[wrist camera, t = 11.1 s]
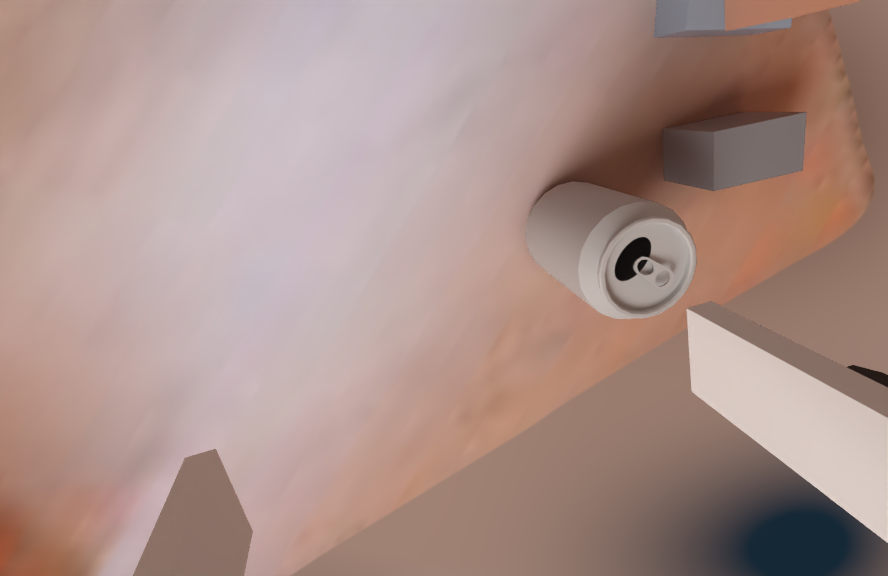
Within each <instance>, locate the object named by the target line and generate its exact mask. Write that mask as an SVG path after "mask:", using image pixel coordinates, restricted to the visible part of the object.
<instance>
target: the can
mask: <svg viewBox="0 0 888 576" xmlns="http://www.w3.org/2000/svg"><path fill="white" fill-rule="evenodd" d="M525 235H526V241H527V247H528V250H529V252H530V254H531V256H532V258H533V260H534V261H535V262H536V263H537V264H538V265H539V266H540V267H541V268H542V269H544V270H545V271H546V272H547V273H549V274H550V275H551V276H553V277H554V278H555V279H556V280H558V281H559V282H560V283H562V284H563V285H564V286H566V287H567V288H568V289H569V290H571V291H572V292H573V293H575V294H576V295H577V296H579V297H580V298H581V299H582V300H584V301H585V302H586V303H588V304H589V305H590V306H592V307H593V308H594V309H595V310H597V311H598V312H599V313H601V314H604V315H607V316H609V317H612V318H615V319H634V318H648V317H651V316H654V315H658V314H660V313H662V312H664V311H665V310H667V309H668V308H670V307H672V306H673V305H674V304H675V303H676V302H677V301H678V300H679V299H680V298H681V297H682V296H683V295H684V294H685V292H686V290H687V288H688V287H689V285H690V283H691V281H692V279H693V276H694V272H695V268H696V264H697V260H696V247H695V244H694V242H693V239H692V236H691V234H690V233H689V232H688V231H687V229H686V226H685V224H684V222H683V221H682V220H681V219H680V217H679V216H678V215H677V214H676V213H675V212H674V211H673V210H672V209H670V208H667V207H665V206H663V205H661V204H659V203H657V202H653V201H650V200H646V199H643V198H639V197H636V196H632V195H629V194H625V193H622V192H618V191H615V190H611V189H608V188H605V187H601V186H598V185H594V184H591V183H587V182H575V181H572V182H568V183H564V184H560V185H557V186H556V187H554V188H552V189H551V190H549V191H548V192H546V193H545V194H544V195H543V196H542V197H541V198H540V199H539V201H538V202H537V203H536V204H535V205H534V207H533V209H532V211H531V213H530V216H529V218H528V220H527V227H526V234H525Z"/></svg>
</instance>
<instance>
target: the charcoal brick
mask: <svg viewBox="0 0 888 576" xmlns="http://www.w3.org/2000/svg"><path fill="white" fill-rule="evenodd" d="M805 128H806V112H741V113H736V114H732V115H727V116H722V117H718V118H713V119H708V120H703V121H699V122H694V123H689V124H684V125H680V126H675V127H670V128H666V129H663V162H664V181H669V182H674V183H678V184H683V185H688V186H693V187H697V188H702V189H707V190H711V191H716V190H720V189H725V188H729V187H733V186H738V185H742V184H746V183H751V182H755V181H759V180H764V179H768V178H773V177H777V176H781V175H786V174H790V173H794V172H799V171H803V160H804V144H805Z"/></svg>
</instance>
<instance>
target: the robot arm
mask: <svg viewBox="0 0 888 576" xmlns="http://www.w3.org/2000/svg"><path fill="white" fill-rule="evenodd" d="M687 321H688V338H689V355H690V371H691V388H692V392H693V393H694V394H696V395H697V396H698V397H699V398H701V399H702V400H704V401H705V402H706V403H707V404H708V405H710V406H711V407H712V408H714V409H715V410H716V411H718V412H719V413H720V414H722V415H723V416H724V417H725V418H727V419H728V420H729V421H730V422H732V423H733V424H734V425H736V426H737V427H738V428H740V429H741V430H742V431H743V432H745V433H746V434H747V435H749V436H750V437H751V438H753V439H754V440H755V441H756V442H758V443H759V444H760V445H762V446H763V447H764V448H765V449H767V450H768V451H769V452H771V453H772V454H773V455H775V456H776V457H777V458H778V459H780V460H781V461H782V462H784V463H785V464H786V465H788V466H789V467H790V468H791V469H793V470H794V471H795V472H797V473H798V474H799V475H800V476H802V477H803V478H804V479H806V480H807V481H808V482H810V483H811V484H812V485H813V486H815V487H816V488H817V489H819V490H820V491H821V492H823V493H824V494H825V495H826V496H828V497H829V498H830V499H832V500H833V501H834V502H835V503H837V504H838V505H839V506H841V507H842V508H843V509H845V510H846V511H847V512H848V513H850V514H851V515H852V516H854V517H855V518H856V519H858V520H859V521H860V522H862V523H863V524H864V525H865V526H867V527H868V528H869V529H870V530H872V531H873V532H875V533H876V534H877V535H878V536H880V537H881V538H882V539H884V540H885V541H886V542H887V543H888V375H886V374H884V373H882V372H878V371H873V370H870V369H866V368H862V367H858V366H854V365H852V366H848V367H845V366H843V365H841V364H839V363H837V362H835V361H833V360H831V359H829V358H826V357H824V356H822V355H820V354H818V353H816V352H814V351H812V350H810V349H808V348H806V347H804V346H802V345H800V344H798V343H796V342H793V341H792V340H790V339H788V338H785V337H783V336H782V335H780V334H777V333H775V332H773V331H771V330H769V329H767V328H765V327H763V326H761V325H759V324H757V323H755V322H753V321H751V320H749V319H747V318H745V317H742V316H741V315H739V314H737V313H735V312H733V311H731V310H728V309H727V308H724V307H722V306H720V305H718V304H716V303H714V302H712V301H710V302H706V303H703V304H700V305H696V306H693V307H690V308H687ZM252 533H253V531H252V528H251V526H250V524H249V522H248V520H247V517H246V515H245V513H244V511H243V508H242V506H241V504H240V502H239V500H238V497H237V495H236V493H235V491H234V488H233V486H232V484H231V482H230V480H229V477H228V475H227V473H226V471H225V468H224V466H223V464H222V462H221V459H220V457H219V455H218V453H217V451H216V449H213V450H210V451H207V452H203V453H200V454H197V455H193V456H190V457H187V458H185V459H184V461H183V464H182V466H181V468H180V470H179V473H178V475H177V477H176V479H175V482H174V484H173V486H172V488H171V491H170V493H169V495H168V498H167V500H166V502H165V504H164V507H163V509H162V511H161V513H160V516H159V518H158V520H157V522H156V525H155V527H154V529H153V531H152V534H151V536H150V538H149V541H148V543H147V545H146V547H145V550H144V552H143V554H142V556H141V559H140V561H139V563H138V565H137V568H136V570H135V572H134V575H133V576H244V573H245V568H246V563H247V558H248V553H249V548H250V543H251V538H252Z"/></svg>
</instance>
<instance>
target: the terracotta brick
mask: <svg viewBox="0 0 888 576" xmlns="http://www.w3.org/2000/svg"><path fill="white" fill-rule="evenodd" d="M858 1H861V0H724V3H725V31H729V30H734V29H739V28H744V27H749V26H754V25H759V24H764V23H769V22H773V21H778V20H783V19H788V18H793V17H798V16H802V15H806V14H810V13H814V12H818V11H822V10H826V9H830V8H834V7H838V6H842V5H846V4H851V3H854V2H858Z"/></svg>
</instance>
